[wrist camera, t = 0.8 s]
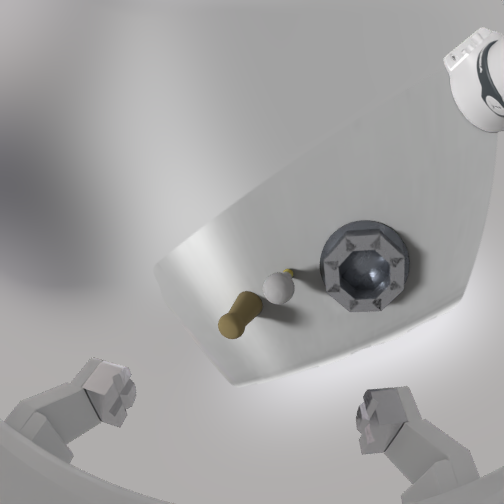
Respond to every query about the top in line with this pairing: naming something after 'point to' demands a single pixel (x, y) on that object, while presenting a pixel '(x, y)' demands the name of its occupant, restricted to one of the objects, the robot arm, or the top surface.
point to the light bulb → (279, 287)
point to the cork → (240, 315)
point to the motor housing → (364, 266)
